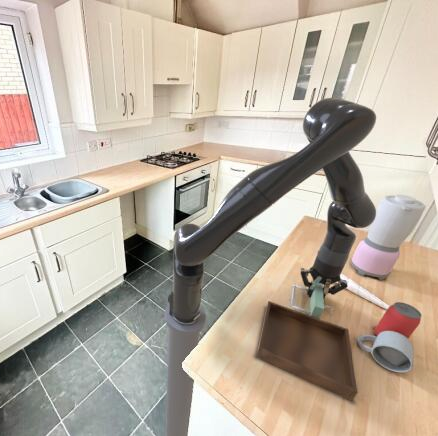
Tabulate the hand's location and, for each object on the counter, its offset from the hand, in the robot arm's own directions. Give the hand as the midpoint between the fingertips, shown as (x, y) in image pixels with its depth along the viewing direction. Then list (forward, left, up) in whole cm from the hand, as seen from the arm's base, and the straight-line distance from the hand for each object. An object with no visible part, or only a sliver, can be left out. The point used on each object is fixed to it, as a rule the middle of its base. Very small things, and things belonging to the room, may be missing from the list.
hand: (314, 297), depth 85 cm
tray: (-3, -22, -1) cm, 22 cm away
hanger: (0, -3, 0) cm, 3 cm away
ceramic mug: (+16, -14, -1) cm, 21 cm away
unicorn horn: (+13, +12, -1) cm, 18 cm away
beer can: (+19, -6, -1) cm, 20 cm away
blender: (+19, +31, -1) cm, 36 cm away
